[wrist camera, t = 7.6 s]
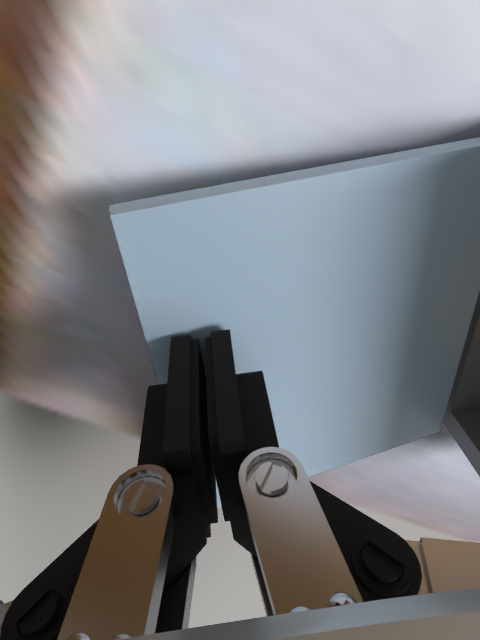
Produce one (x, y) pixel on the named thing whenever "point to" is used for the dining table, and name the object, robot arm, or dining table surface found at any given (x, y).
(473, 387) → the block
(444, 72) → the dining table surface
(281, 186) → the side door
